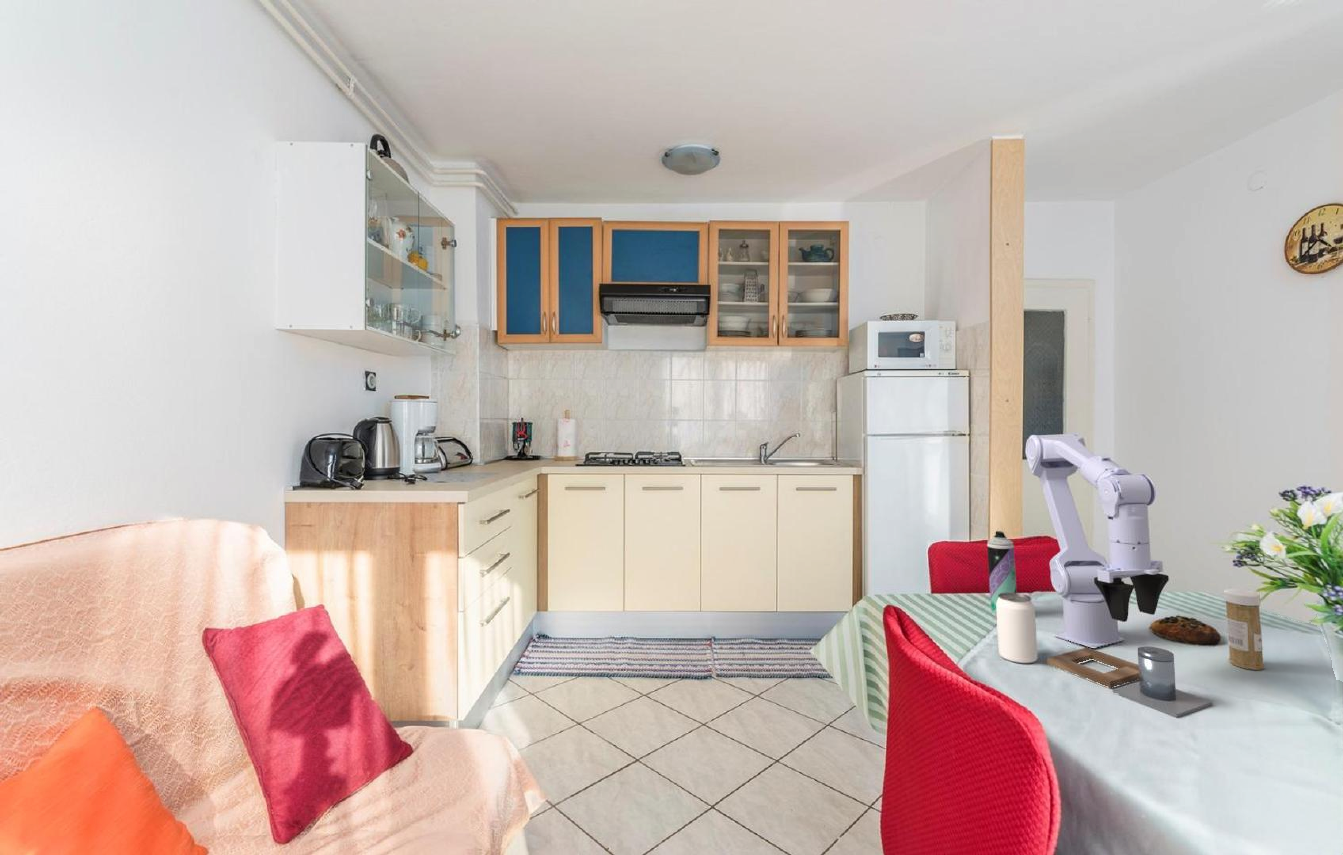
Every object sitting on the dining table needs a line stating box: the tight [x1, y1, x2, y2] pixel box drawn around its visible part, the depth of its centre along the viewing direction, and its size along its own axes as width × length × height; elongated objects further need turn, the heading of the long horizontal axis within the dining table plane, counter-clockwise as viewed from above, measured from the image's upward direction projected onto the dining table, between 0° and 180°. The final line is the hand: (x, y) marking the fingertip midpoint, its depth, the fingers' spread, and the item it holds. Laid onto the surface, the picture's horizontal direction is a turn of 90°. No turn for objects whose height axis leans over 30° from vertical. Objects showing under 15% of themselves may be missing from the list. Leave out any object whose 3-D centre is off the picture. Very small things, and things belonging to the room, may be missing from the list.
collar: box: [1046, 647, 1139, 689], centre depth 101 cm, size 11×11×1 cm
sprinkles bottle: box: [1223, 588, 1265, 671], centre depth 100 cm, size 5×5×14 cm
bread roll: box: [1148, 615, 1222, 647], centre depth 114 cm, size 11×11×5 cm
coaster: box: [1112, 681, 1213, 719], centre depth 90 cm, size 9×9×1 cm
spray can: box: [986, 530, 1017, 618], centre depth 131 cm, size 6×6×20 cm
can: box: [996, 592, 1038, 665], centre depth 108 cm, size 6×6×12 cm
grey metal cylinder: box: [1137, 645, 1177, 701], centre depth 91 cm, size 4×4×7 cm
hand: (1133, 616), depth 99 cm, fingers open, 7 cm apart
